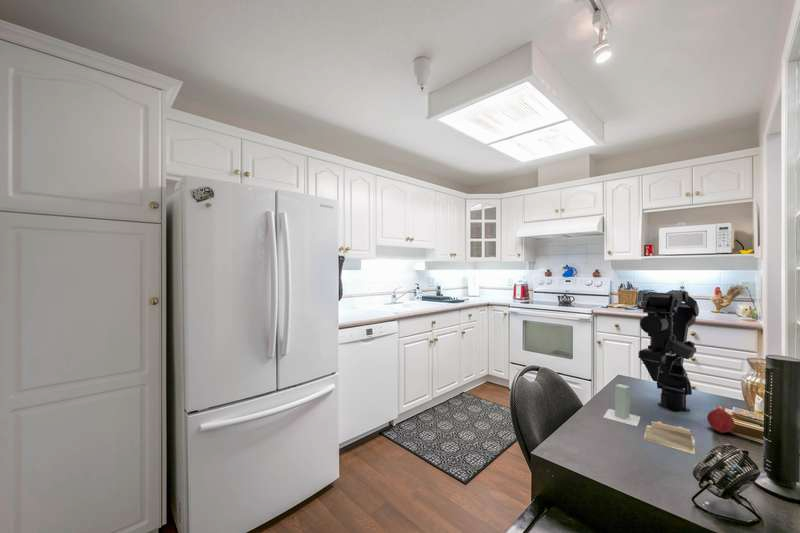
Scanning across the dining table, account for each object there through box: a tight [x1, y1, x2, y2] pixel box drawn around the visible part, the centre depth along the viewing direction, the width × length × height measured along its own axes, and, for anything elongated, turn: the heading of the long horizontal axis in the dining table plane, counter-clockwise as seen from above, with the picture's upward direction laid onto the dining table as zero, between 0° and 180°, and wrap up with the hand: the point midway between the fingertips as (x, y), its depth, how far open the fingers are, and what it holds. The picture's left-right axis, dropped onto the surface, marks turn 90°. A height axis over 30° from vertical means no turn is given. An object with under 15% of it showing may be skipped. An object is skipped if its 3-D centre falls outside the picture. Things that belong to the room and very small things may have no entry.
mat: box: [603, 408, 641, 427], centre depth 109 cm, size 9×9×1 cm
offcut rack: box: [642, 420, 696, 455], centre depth 95 cm, size 12×11×5 cm
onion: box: [706, 405, 735, 434], centre depth 100 cm, size 6×6×8 cm
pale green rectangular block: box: [614, 383, 631, 420], centre depth 109 cm, size 3×3×10 cm
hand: (660, 378), depth 109 cm, fingers open, 9 cm apart
